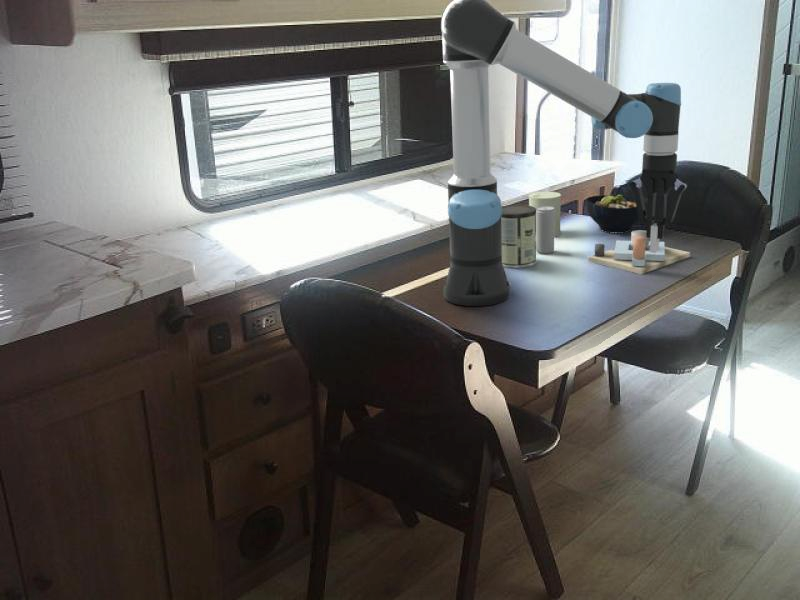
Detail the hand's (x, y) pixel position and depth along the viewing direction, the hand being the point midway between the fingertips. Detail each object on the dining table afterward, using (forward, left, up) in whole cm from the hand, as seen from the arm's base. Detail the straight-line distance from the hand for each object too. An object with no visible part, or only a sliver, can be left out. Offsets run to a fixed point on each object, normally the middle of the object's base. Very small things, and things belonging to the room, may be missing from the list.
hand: (654, 251), depth 191 cm
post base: (+7, +9, -5) cm, 12 cm away
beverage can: (-4, +31, -6) cm, 32 cm away
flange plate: (+5, +7, -4) cm, 10 cm away
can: (+10, +44, -6) cm, 45 cm away
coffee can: (-16, +30, -6) cm, 35 cm away
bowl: (+27, +32, -6) cm, 42 cm away
